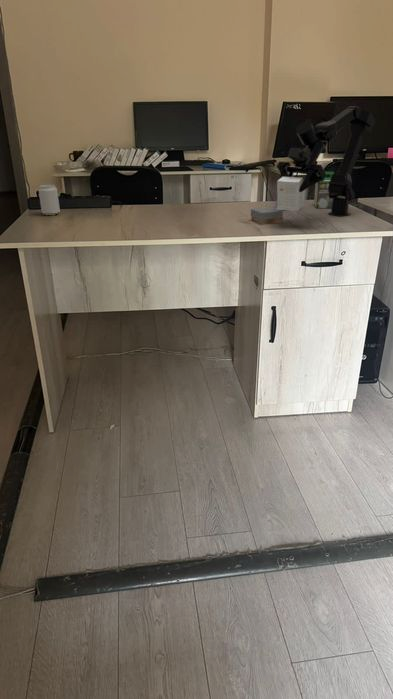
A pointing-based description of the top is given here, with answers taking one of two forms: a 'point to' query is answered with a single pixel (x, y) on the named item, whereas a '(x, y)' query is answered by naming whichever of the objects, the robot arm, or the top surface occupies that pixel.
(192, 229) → the top surface
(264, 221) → the lower block
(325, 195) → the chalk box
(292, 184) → the small box
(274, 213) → the upper block
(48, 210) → the can
